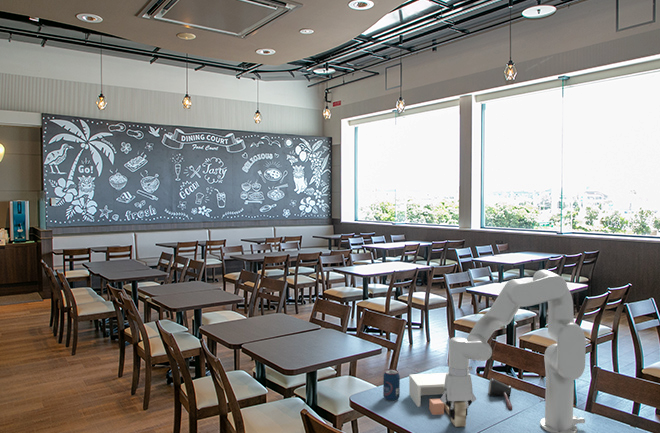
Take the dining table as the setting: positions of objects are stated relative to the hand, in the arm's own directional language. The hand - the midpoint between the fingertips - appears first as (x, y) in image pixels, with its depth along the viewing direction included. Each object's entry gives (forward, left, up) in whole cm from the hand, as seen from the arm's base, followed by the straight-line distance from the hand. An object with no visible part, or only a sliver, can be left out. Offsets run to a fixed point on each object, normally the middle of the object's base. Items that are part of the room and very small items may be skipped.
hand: (458, 417), depth 184 cm
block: (+5, -11, -3) cm, 12 cm away
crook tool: (+2, -6, -2) cm, 7 cm away
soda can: (+20, -25, -3) cm, 32 cm away
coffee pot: (-26, -18, -3) cm, 32 cm away
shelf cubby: (+1, -22, -3) cm, 22 cm away
